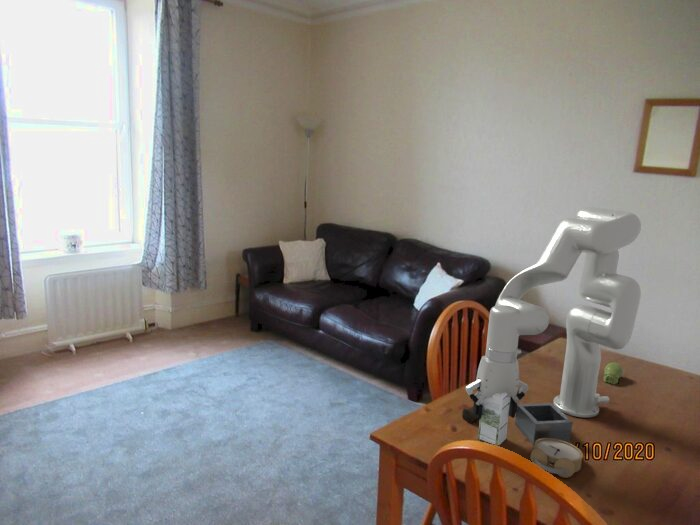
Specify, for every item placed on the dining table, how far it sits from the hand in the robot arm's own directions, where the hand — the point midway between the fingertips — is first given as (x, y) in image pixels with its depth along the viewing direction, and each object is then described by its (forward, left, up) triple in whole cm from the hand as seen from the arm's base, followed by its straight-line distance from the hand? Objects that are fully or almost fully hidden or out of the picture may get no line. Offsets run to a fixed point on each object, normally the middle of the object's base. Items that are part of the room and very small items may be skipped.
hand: (494, 415), depth 136 cm
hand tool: (-5, -14, -7) cm, 17 cm away
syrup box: (0, 0, -7) cm, 7 cm away
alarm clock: (-11, +12, -7) cm, 18 cm away
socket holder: (-15, -2, -7) cm, 17 cm away
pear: (-58, -32, -7) cm, 66 cm away
